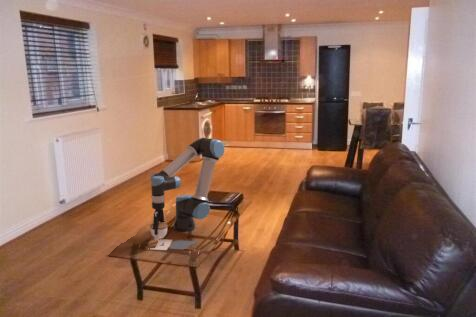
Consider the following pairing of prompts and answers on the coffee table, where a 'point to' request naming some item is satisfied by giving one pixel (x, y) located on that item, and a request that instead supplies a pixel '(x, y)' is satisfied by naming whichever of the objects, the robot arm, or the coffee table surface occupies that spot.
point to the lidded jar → (160, 229)
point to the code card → (162, 244)
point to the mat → (181, 244)
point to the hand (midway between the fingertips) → (159, 235)
